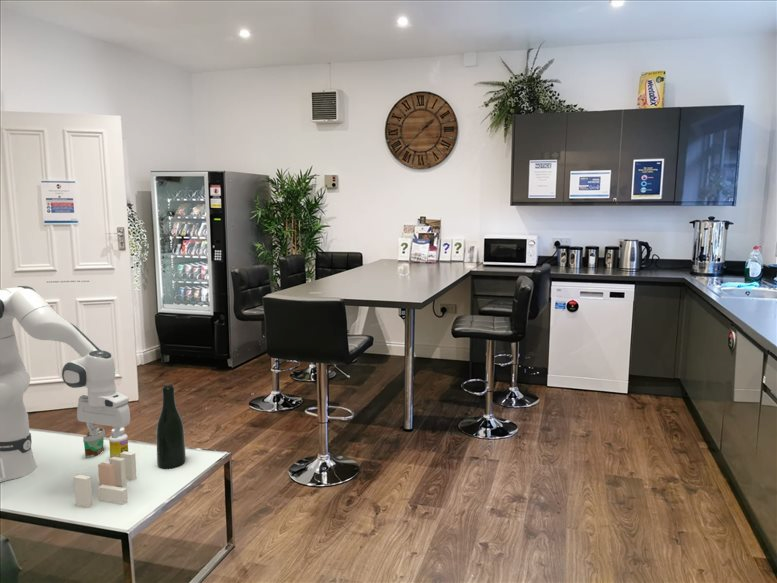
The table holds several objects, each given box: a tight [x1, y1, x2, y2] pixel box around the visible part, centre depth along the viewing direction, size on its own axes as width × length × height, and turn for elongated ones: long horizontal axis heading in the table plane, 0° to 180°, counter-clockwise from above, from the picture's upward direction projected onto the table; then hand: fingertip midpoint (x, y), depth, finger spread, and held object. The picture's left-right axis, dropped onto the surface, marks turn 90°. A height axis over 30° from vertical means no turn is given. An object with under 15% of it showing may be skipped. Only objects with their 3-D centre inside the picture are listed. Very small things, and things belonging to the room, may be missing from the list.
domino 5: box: [120, 451, 137, 481], centre depth 215 cm, size 2×5×10 cm, turn 72°
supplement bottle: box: [108, 427, 129, 459], centre depth 231 cm, size 7×7×13 cm
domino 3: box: [97, 461, 116, 487], centre depth 205 cm, size 2×5×10 cm, turn 71°
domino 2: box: [108, 457, 127, 488], centre depth 210 cm, size 2×5×10 cm, turn 72°
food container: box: [82, 425, 106, 459], centre depth 236 cm, size 12×6×10 cm, turn 9°
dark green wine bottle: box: [155, 382, 187, 470], centre depth 225 cm, size 10×10×33 cm
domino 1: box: [73, 474, 93, 508], centre depth 195 cm, size 2×5×10 cm, turn 72°
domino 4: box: [97, 485, 128, 505], centre depth 198 cm, size 2×5×10 cm
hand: (104, 436), depth 203 cm, fingers open, 8 cm apart
